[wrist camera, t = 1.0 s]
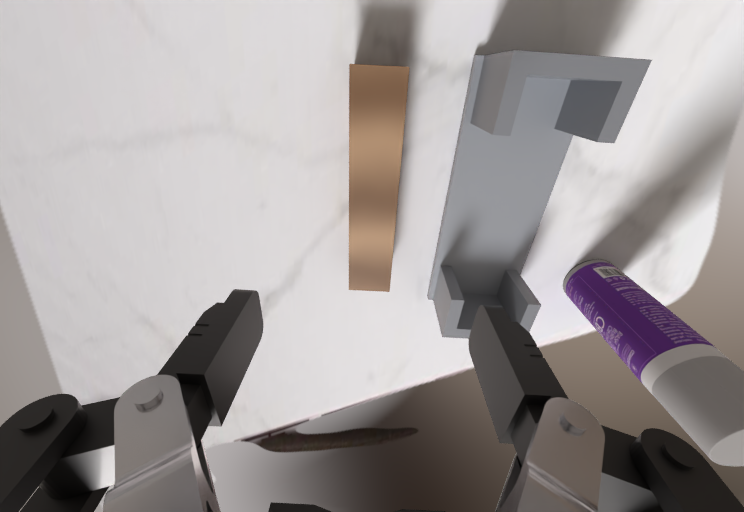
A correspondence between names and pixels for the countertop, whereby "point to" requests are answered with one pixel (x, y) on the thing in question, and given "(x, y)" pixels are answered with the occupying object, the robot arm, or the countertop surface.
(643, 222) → the countertop surface
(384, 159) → the slat
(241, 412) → the countertop surface
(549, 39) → the countertop surface
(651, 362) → the container
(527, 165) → the endcap rail
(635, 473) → the robot arm
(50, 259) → the countertop surface
